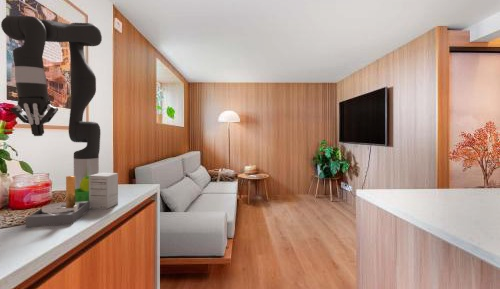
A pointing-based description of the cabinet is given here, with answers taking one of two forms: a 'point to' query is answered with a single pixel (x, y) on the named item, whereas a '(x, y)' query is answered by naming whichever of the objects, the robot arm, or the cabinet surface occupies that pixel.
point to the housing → (57, 216)
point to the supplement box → (103, 190)
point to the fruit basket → (82, 190)
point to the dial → (70, 200)
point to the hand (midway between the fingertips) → (38, 135)
